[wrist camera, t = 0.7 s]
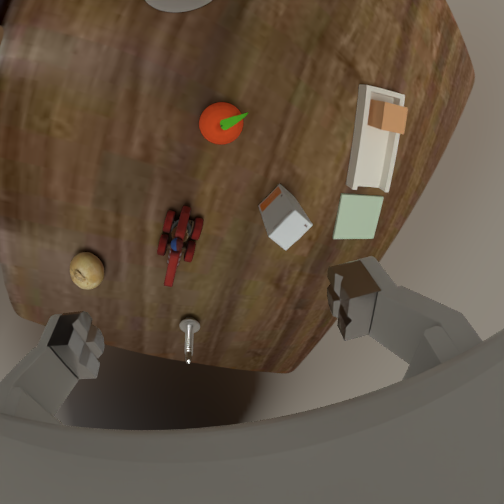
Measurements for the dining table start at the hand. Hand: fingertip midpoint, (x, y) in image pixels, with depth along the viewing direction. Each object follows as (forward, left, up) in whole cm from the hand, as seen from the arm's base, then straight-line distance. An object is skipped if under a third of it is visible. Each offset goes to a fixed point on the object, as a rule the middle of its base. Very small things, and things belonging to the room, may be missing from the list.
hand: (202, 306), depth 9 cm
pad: (+17, +30, -43) cm, 55 cm away
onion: (+27, -27, -43) cm, 57 cm away
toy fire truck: (+20, -6, -43) cm, 48 cm away
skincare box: (+14, +12, -43) cm, 47 cm away
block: (-5, +30, -42) cm, 52 cm away
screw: (+44, -6, -43) cm, 62 cm away
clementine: (-1, +2, -43) cm, 43 cm away
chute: (0, +30, -43) cm, 52 cm away
